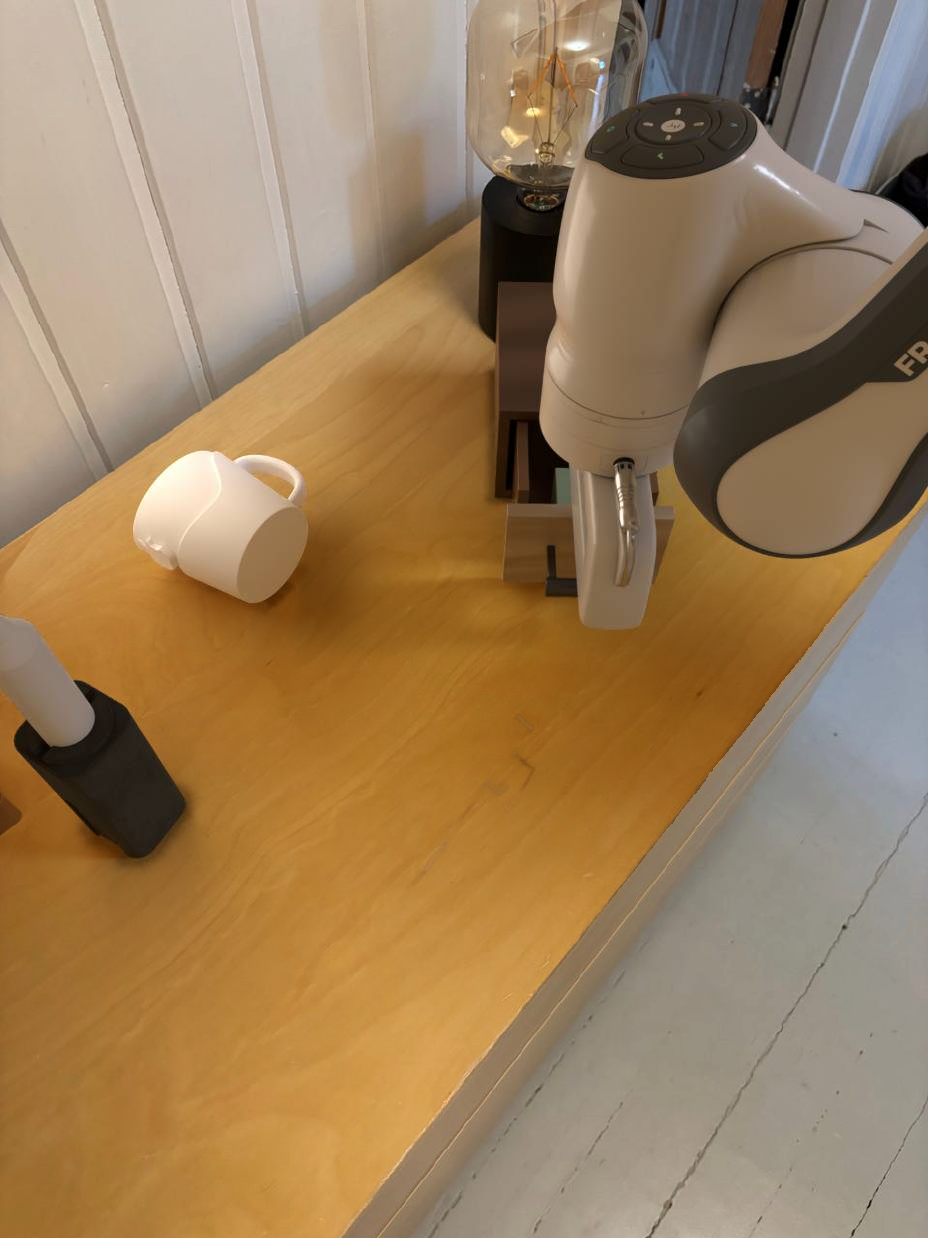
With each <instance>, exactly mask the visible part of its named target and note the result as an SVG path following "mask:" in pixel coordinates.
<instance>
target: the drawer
mask: <svg viewBox="0 0 928 1238" xmlns="http://www.w3.org/2000/svg"><path fill="white" fill-rule="evenodd" d="M555 468H569V463H568V462H567V461H565V460H564V459H563V458H561V457H560V456H559V455H558V454H557V453H556V452H555V451H554V450H553V449H552V448H551V447H550V445H549V444H548V442H547V441H546V439H545V437H544V435H543V433H542V430H541V426H540V420H514V421H513V435H512V498H511V500H512V502H511V503H509V502H508V503H507V504H506V515H505V530H504V544H503V556H502V582H503V583H541V584H542V583H543V584H544V597H545V598H561V599H562V598H563V599H569V598H570V599H578V591H577V576H576V560H575V545H574V530H573V514H572V504H551V495H552V487H553V480H554V472H555ZM649 477H650V485H651V493H652V501H653V509H654V517H655V525H656V558H655V566H654V572H653V577H652V582H651V586H653V585H656V582H657V579H658V577H659V573H660V569H661V566H662V563H663V560H664V556H665V552H666V550H667V547H668V543H669V540H670V537H671V534H672V530H673V527H674V524H675V521H676V515H675V509H674V506H673V505H657V502H658V498H659V495H660V488H659V480H658V471H657V472H654V473H651V474H649Z"/></svg>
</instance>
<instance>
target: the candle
mask: <svg viewBox="0 0 928 1238" xmlns="http://www.w3.org/2000/svg"><path fill="white" fill-rule="evenodd" d="M0 690H1V692H3V694H4V695H5V696H6V697H7V699H8V700H9V701H10V702H11V703H12V704H13V705H14V707H15V708H16V709H17V710H18V711H19V713H20V714H21V715H22V716H23V718H24V719H25V720H24V721H23V723H22V724H20V725H19V727H18V729H16V731H15V734H14V737H13V746H14V748H15V750H16V752H17V753H18V754H19V755H20V756H21V758H23V759H24V760H25V761H26V762H27V763H28V764H29V766H31V767H32V769H33V770H34V771H35V772H36V773H37V775H39V776H40V777H41V778H42V780H43V781H44V782H46V784H47V785H48V786H49V787H50V788H51V789H52V790H53V791H54V792H55V793H56V794H57V796H59V798H60V799H61V800H62V801H63V802H64V804H65V805H67V806H68V807H69V808H70V809H71V810H72V812H73V813H74V814H75V815H76V816H77V817H78V818H79V819H80V820H81V821H82V822H83V824H85V825H86V826H87V828H88V829H89V830H90V831H91V832H92V833H93V834H94V835H95V836H96V837H98V836H102V837H104V838H105V839H107V840H108V841H109V842H111V843H113V844H114V845H116V846H117V847H119V849H121V851H122V852H123V853H124V854H125V855H126V856H127V857H129V858H132V859H133V858H134V859H142V858H145V857H147V856H148V855H150V854H152V852H153V851H154V850H155V849H156V848H157V846H158V845H159V844H160V843H161V841H163V839H164V838H165V836H166V835H168V833H169V832H170V830H171V829H172V828H173V826H174V825H175V824H176V823H177V821H178V820H179V819H180V818H181V816H182V815H183V813H184V812H185V809H186V800H185V797H184V795H183V794H182V792H181V789H179V787H178V785H177V784H176V783H175V781H174V779H173V778H172V776H171V774H170V773H169V772H168V770H167V768H166V767H165V765H164V764H163V762H162V761H161V759H160V758H159V756H158V755H157V753H156V751H155V750H154V748H153V747H152V745H151V744H150V742H149V740H148V739H147V737H146V735H145V734H144V732H143V731H142V730H141V727H140V726H139V724H138V723H137V722H136V720H135V719H134V717H133V715H132V714H131V712H130V711H129V709H128V708H127V706H125V705H124V704H123V703H121V702H119V701H118V700H116V699H114V698H112V697H111V696H109V695H107V694H106V693H105V692H102V691H101V690H99V689H98V688H96V687H94V686H93V685H91V684H90V683H88V682H85V681H83V680H81V679H80V680H79V679H72V677H71V675H70V673H68V671H67V670H66V669H65V667H64V665H63V664H62V662H60V660H59V658H58V657H57V656H56V654H55V653H54V651H53V650H52V649H51V647H50V646H49V644H48V642H46V640H45V639H44V637H43V636H42V634H41V633H40V632H39V631H38V629H37V627H36V626H35V625H33V624H32V623H31V622H30V621H28V620H27V619H23V618H20V617H11V616H9V617H7V616H5V615H3V614H1V613H0Z"/></svg>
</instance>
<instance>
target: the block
mask: <svg viewBox="0 0 928 1238" xmlns="http://www.w3.org/2000/svg"><path fill="white" fill-rule="evenodd" d="M551 504H572V499H571V484H570V469H569V468H555V472H554V480H553V487H552V495H551Z"/></svg>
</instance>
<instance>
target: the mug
mask: <svg viewBox="0 0 928 1238" xmlns="http://www.w3.org/2000/svg"><path fill="white" fill-rule="evenodd" d="M254 475H267V476H272V477H275V478H278V479H281V480H283V481H285V482H286V483H288V484H290V485H291V486H292V487H293V490H292V492H291V493H290V495H289V496H288V497H287V498H285V497H284V496H282V495H281V494H280V493H278V492H277V491H276V490H274V489H273V488H271V487H270V486H268V485H267V484H265V483H264V482H263V481H261V480H260V479H258V478H257V477H255V476H254ZM306 500H307V488H306V482H305V479H304V477H303V475H302V474H301V472H300V471H299V469H297V468H296V467H294V466H293V465H292V464H290V463H289V462H286V461H285V460H282V459H279V458H277V457H273V456H269V455H264V454H249V455H248V454H247V455H243V456H240V457H238V458H236V459H234V460H232V459H230V458H229V457H227V456H226V455H225V454H223V453H222V452H221V451H217V450H215V451H214V450H213V452H212V451H209V450H197V451H194V452H191V453H187V454H186V455H184V456H182V457H180V458H179V459H177V460H176V461H174V462H173V463H172V464H170V465H169V466H168V467H167V468H166V469H165V470H164V471H163V472H162V473H161V474H160V475H158V477H157V478H156V479H155V480H154V481H153V483H152V484H151V486H150V487H149V488H148V490H147V491H146V493H145V494H144V496H143V498H142V499H141V502H140V504H139V506H138V508H137V510H136V514H135V516H134V521H133V527H132V535H133V536H132V537H133V540H134V543H135V545H136V546H137V548H138V549H139V550H140V551H142V552H144V553H145V554H148V555H149V556H150V557H151V559H152V560H153V561H154V562H155V563H156V564H157V565H159V566H160V567H162V568H164V569H166V570H168V571H174V570H175V569H176V568H180V570H181V572H183V574H185V576H188V577H190V578H191V579H194V580H197V581H199V582H200V583H203V584H205V585H207V586H209V587H212V588H214V589H216V590H219V591H220V592H223V593H225V594H227V595H229V596H232V597H234V598H236V599H239V600H241V601H243V602H245V603H247V604H257V603H261V602H263V601H266V600H268V599H269V598H271V597H272V596H274V594H276V593H277V592H278V591H279V590H280V589H281V588H282V587H283V586H284V585H285V584H286V582H288V580H289V579H290V577H292V574H293V573H294V572H295V570H296V568H297V567H298V564H299V563H300V561H301V560H302V559H301V558H302V556H303V554H304V551H305V548H306V546H307V541H308V537H309V536H308V535H309V523H308V518H307V515H306V514H305V512H304V510H302V508H303V507H304V505H305V503H306Z"/></svg>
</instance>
